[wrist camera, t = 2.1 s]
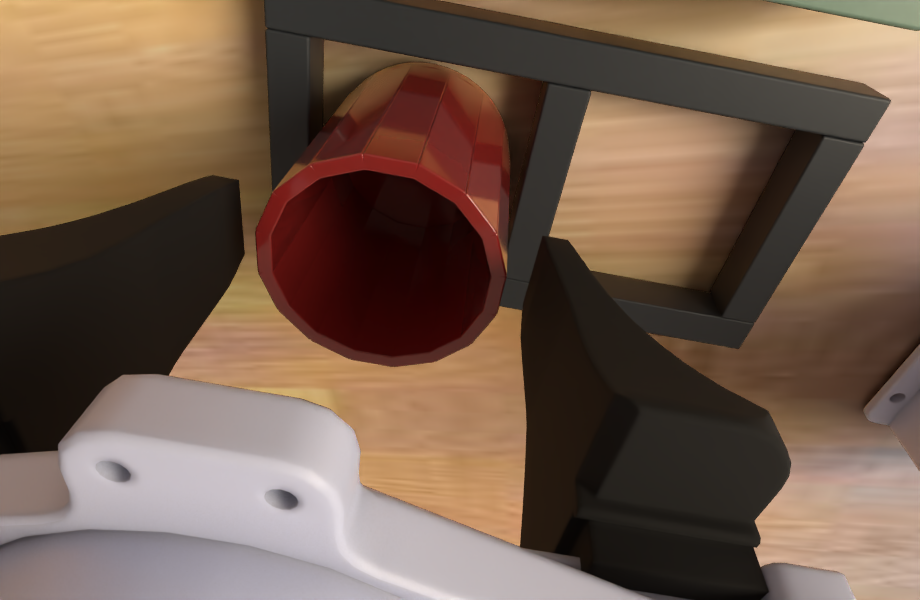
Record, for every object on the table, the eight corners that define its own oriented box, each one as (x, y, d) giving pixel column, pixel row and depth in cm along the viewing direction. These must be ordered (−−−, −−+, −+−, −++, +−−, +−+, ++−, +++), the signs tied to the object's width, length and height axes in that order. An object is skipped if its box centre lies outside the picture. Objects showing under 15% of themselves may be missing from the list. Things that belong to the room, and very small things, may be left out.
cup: (490, 240, 20) (479, 383, 14) (335, 212, 20) (261, 344, 14) (526, 80, 17) (530, 184, 11) (340, 45, 16) (247, 131, 11)
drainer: (726, 323, 21) (739, 349, 20) (288, 243, 21) (274, 266, 19) (865, 83, 16) (893, 100, 15) (281, -31, 15) (261, -24, 14)
